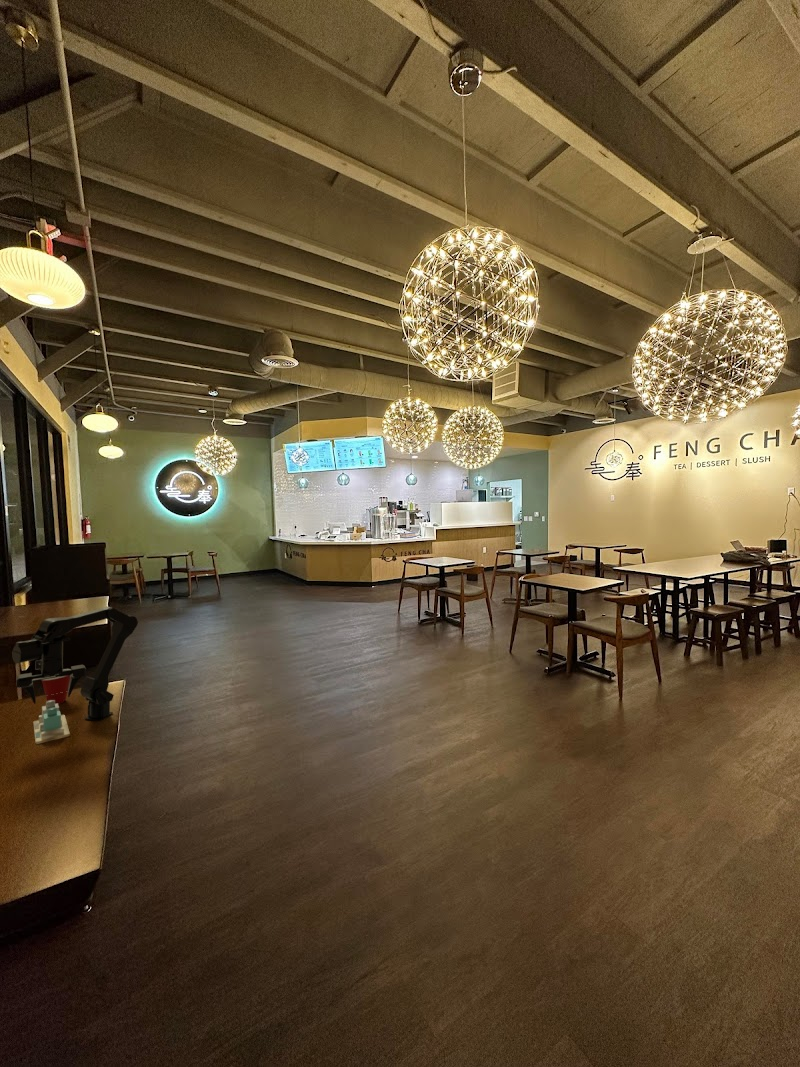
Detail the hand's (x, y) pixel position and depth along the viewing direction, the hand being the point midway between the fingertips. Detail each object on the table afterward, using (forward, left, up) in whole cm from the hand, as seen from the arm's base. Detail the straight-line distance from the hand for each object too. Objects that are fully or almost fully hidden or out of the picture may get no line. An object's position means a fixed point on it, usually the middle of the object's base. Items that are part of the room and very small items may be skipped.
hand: (52, 699), depth 150 cm
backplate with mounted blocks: (+3, -3, -12) cm, 13 cm away
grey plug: (+6, -5, -11) cm, 14 cm away
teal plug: (0, 0, -11) cm, 11 cm away
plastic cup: (+22, -23, -12) cm, 34 cm away
